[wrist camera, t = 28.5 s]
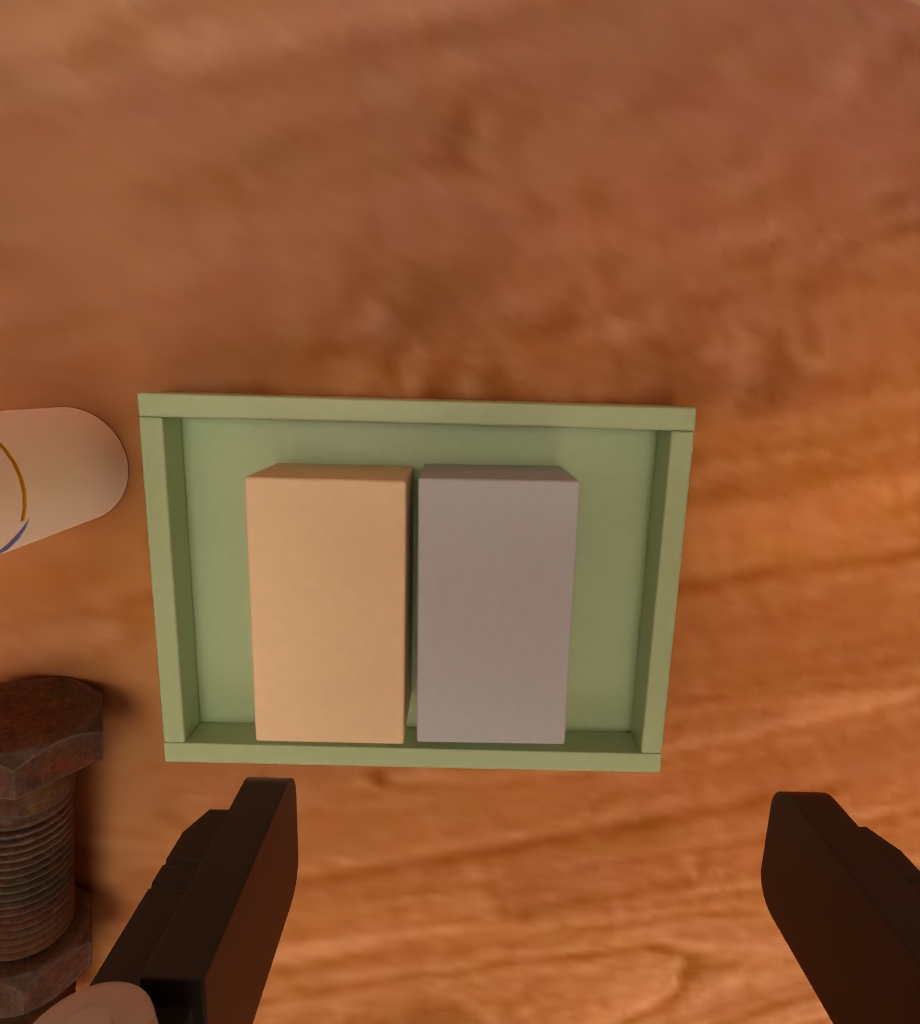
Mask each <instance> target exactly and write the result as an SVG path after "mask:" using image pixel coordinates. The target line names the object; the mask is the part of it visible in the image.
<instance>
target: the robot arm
mask: <svg viewBox="0 0 920 1024" xmlns="http://www.w3.org/2000/svg"><path fill="white" fill-rule="evenodd" d="M297 870H298V835H297V806H296V786H295V781H294V779H293V778H268V777H248V778H247V779H246V780H245V781H244V783H243V784H242V786H241V788H240V790H239V792H238V794H237V796H236V798H235V799H234V801H233V803H232V805H231V807H230V809H229V810H211V809H210V810H209V811H207V812H206V813H205V814H204V815H203V816H202V817H200V818H199V819H198V820H197V821H196V822H194V823H193V824H192V825H191V826H190V827H189V828H187V829H186V830H185V831H184V832H183V833H182V835H181V836H180V838H179V840H178V841H177V843H176V845H175V846H174V848H173V849H172V851H171V853H170V854H169V856H168V858H167V859H166V864H165V865H163V866H162V868H161V869H160V871H159V873H158V874H157V876H156V877H155V879H154V881H153V882H152V887H151V889H148V891H147V892H146V894H145V896H144V897H143V899H142V900H141V902H140V904H139V905H138V907H137V909H136V910H135V912H134V914H133V915H132V917H131V919H130V920H129V922H128V924H127V925H126V927H125V928H124V930H123V932H122V933H121V935H120V937H119V938H118V940H117V942H116V943H115V945H114V947H113V948H112V950H111V952H110V953H109V955H108V956H107V958H106V960H105V961H104V963H103V965H102V966H101V968H100V970H99V971H98V973H97V975H96V976H95V978H94V980H93V981H92V983H91V984H90V986H89V987H86V988H84V989H82V990H79V991H77V992H75V993H73V994H71V995H69V996H67V997H66V998H64V999H62V1000H61V1001H59V1002H58V1003H56V1004H55V1005H54V1006H52V1007H51V1008H50V1009H48V1010H47V1011H46V1012H45V1013H44V1014H42V1015H41V1016H40V1017H39V1018H38V1019H37V1020H36V1021H35V1022H34V1023H33V1024H253V1021H254V1018H255V1015H256V1012H257V1009H258V1005H259V1002H260V999H261V996H262V993H263V990H264V987H265V984H266V980H267V977H268V974H269V971H270V968H271V965H272V962H273V959H274V956H275V952H276V949H277V946H278V943H279V940H280V937H281V934H282V931H283V928H284V924H285V921H286V918H287V915H288V912H289V909H290V906H291V902H292V899H293V895H294V890H295V885H296V879H297ZM761 883H762V889H763V894H764V898H765V901H766V904H767V907H768V910H769V912H770V914H771V916H772V918H773V919H774V921H775V923H776V925H777V926H778V928H779V930H780V932H781V933H782V935H783V937H784V939H785V940H786V942H787V944H788V945H789V947H790V949H791V951H792V952H793V954H794V956H795V958H796V959H797V961H798V963H799V965H800V966H801V968H802V970H803V972H804V973H805V975H806V977H807V979H808V980H809V982H810V984H811V986H812V987H813V989H814V991H815V993H816V994H817V996H818V998H819V1000H820V1001H821V1003H822V1005H823V1006H824V1008H825V1010H826V1012H827V1013H828V1015H829V1017H830V1019H831V1020H832V1022H833V1024H920V871H919V870H918V869H917V868H916V867H915V866H914V865H913V863H912V862H911V861H910V860H909V859H908V858H907V857H906V856H905V855H904V854H903V853H902V852H901V851H900V850H899V849H897V848H896V847H894V846H893V845H891V844H890V843H889V842H887V841H886V840H884V839H883V838H881V837H880V836H878V835H877V834H876V833H874V832H873V831H871V830H870V829H868V828H867V827H858V826H857V824H856V823H855V822H854V821H853V820H852V819H851V818H850V816H849V815H848V814H847V813H846V812H845V811H844V810H843V809H842V807H841V806H840V805H839V804H838V803H837V802H836V801H835V799H834V798H833V797H832V796H830V795H829V794H827V793H820V792H777V793H776V794H775V795H774V797H773V799H772V803H771V808H770V815H769V821H768V828H767V835H766V841H765V848H764V854H763V861H762V867H761Z"/></svg>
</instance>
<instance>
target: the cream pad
mask: <svg viewBox="0 0 920 1024" xmlns="http://www.w3.org/2000/svg"><path fill="white" fill-rule="evenodd" d="M244 480H245V502H246V525H247V547H248V570H249V593H250V615H251V638H252V660H253V683H254V706H255V728H256V740H258V741H299V742H343V743H387V744H402V743H403V742H404V738H405V732H406V725H407V719H408V712H409V705H410V699H411V681H412V593H413V506H414V468H413V467H412V466H381V465H342V464H304V463H276V464H274V465H272V466H269V467H267V468H265V469H263V470H260V471H258V472H256V473H254V474H251V475H249V476H247V477H245V479H244Z"/></svg>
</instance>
